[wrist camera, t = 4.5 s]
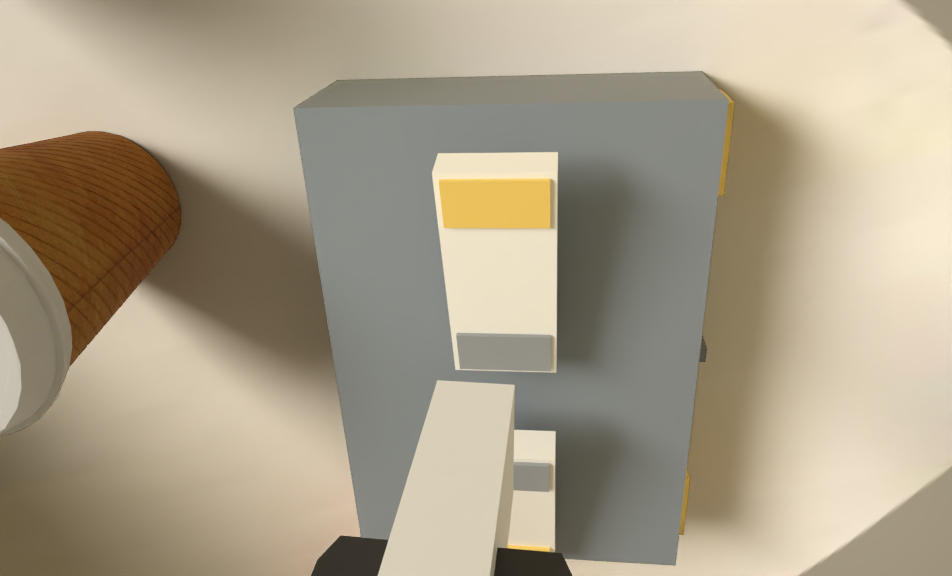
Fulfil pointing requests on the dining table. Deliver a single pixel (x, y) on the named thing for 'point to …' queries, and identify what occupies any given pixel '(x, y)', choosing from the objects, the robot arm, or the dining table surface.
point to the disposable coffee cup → (71, 254)
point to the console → (578, 281)
